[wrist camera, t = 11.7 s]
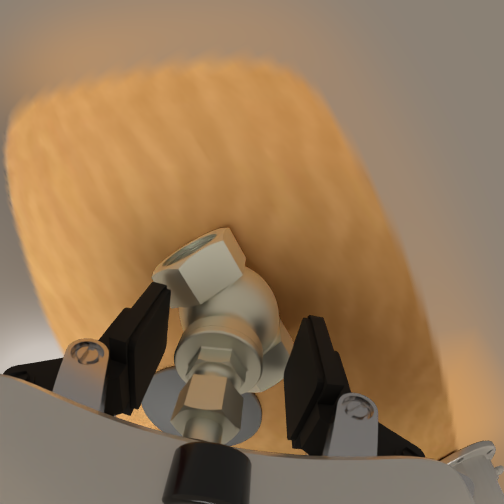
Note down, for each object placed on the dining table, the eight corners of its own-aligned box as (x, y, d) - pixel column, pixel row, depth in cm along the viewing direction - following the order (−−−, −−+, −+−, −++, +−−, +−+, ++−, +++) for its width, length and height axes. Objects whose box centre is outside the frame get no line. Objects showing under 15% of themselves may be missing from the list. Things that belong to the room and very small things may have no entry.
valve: (263, 202, 13) (246, 450, 2) (321, 317, 15) (379, 551, 4) (145, 264, 15) (-16, 451, 3) (211, 361, 16) (164, 565, 5)
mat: (275, 381, 16) (275, 385, 16) (248, 451, 19) (247, 455, 19) (142, 351, 16) (140, 355, 16) (144, 427, 19) (142, 431, 18)
